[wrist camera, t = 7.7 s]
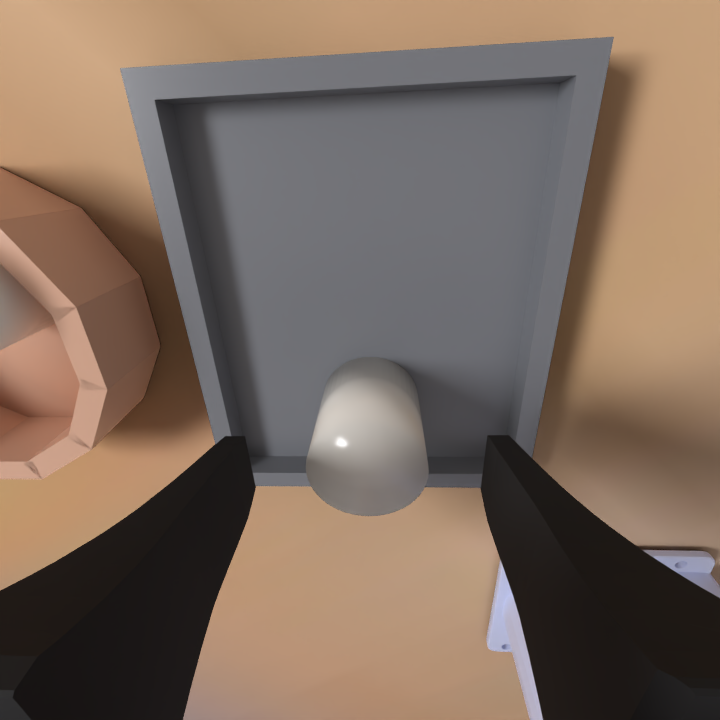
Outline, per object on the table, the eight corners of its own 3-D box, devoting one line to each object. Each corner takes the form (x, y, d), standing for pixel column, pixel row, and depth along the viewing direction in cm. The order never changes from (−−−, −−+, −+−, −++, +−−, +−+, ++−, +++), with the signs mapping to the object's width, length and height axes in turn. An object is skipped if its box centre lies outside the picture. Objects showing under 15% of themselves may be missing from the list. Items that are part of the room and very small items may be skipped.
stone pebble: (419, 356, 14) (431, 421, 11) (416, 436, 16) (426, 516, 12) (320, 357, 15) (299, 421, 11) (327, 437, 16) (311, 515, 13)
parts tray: (584, 52, 11) (613, 36, 9) (515, 462, 17) (526, 487, 15) (150, 79, 11) (119, 68, 10) (238, 461, 18) (225, 485, 16)
